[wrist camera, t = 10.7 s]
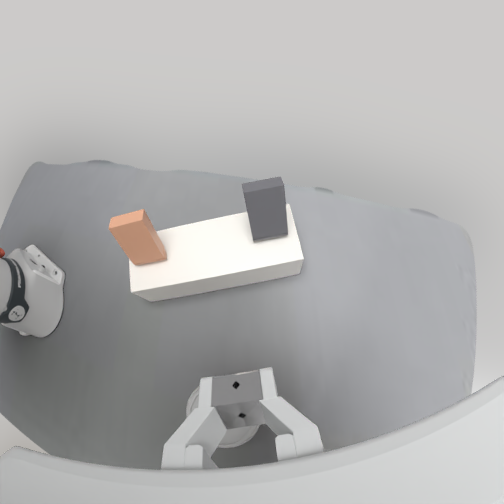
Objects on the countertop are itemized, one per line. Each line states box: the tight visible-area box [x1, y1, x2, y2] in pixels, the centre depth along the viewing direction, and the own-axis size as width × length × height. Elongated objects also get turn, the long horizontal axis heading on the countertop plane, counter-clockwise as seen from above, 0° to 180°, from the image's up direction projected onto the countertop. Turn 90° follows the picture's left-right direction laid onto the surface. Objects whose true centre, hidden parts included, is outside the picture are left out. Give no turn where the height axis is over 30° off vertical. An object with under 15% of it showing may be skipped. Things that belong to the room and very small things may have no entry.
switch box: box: [129, 204, 304, 302], centre depth 47 cm, size 9×26×8 cm, turn 100°
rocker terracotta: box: [109, 209, 167, 266], centre depth 39 cm, size 2×5×9 cm, turn 100°
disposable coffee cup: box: [186, 386, 260, 448], centre depth 37 cm, size 10×10×12 cm
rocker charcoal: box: [242, 177, 288, 242], centre depth 39 cm, size 2×5×9 cm, turn 100°
